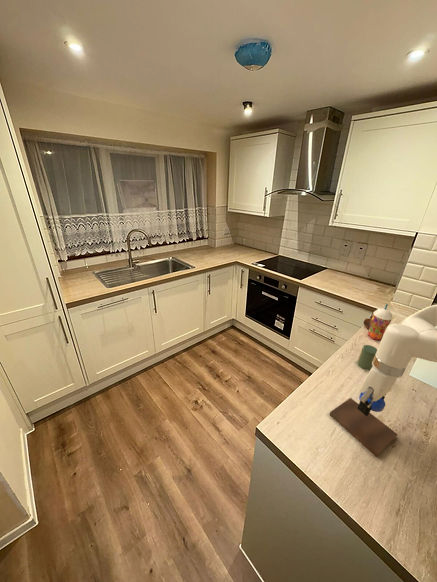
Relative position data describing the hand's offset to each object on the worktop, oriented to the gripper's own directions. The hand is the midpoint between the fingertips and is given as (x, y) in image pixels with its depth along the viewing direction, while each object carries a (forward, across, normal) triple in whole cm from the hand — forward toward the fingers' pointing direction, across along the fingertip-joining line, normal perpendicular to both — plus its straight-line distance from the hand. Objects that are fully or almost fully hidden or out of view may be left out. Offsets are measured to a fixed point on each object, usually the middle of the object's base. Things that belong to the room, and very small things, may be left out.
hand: (369, 406), depth 75 cm
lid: (-3, 0, 0) cm, 3 cm away
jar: (+9, -30, -16) cm, 35 cm away
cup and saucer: (+9, -66, -30) cm, 73 cm away
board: (+9, 0, 0) cm, 9 cm away
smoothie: (+9, -56, -26) cm, 63 cm away
